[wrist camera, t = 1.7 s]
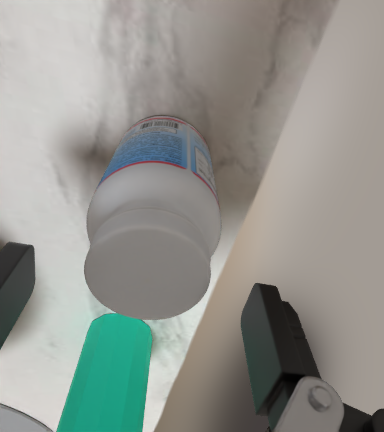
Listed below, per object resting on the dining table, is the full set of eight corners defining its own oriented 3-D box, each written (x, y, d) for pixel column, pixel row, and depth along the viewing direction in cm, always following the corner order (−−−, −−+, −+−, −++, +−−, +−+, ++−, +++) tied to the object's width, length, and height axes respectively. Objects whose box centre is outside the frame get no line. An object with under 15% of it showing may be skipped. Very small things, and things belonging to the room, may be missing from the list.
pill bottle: (105, 179, 22) (42, 305, 13) (139, 95, 19) (92, 176, 10) (185, 213, 24) (183, 349, 14) (228, 140, 21) (262, 249, 11)
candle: (149, 357, 32) (131, 516, 22) (87, 351, 32) (40, 511, 22) (156, 316, 29) (138, 478, 19) (87, 309, 29) (32, 472, 19)
